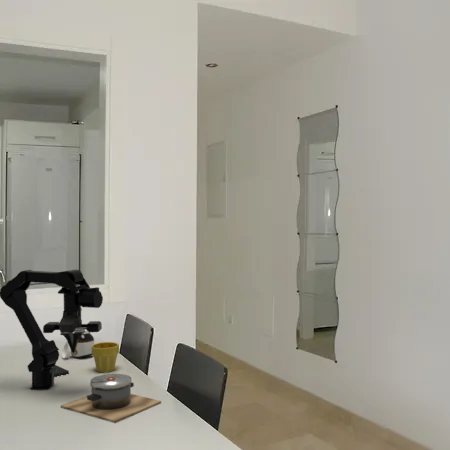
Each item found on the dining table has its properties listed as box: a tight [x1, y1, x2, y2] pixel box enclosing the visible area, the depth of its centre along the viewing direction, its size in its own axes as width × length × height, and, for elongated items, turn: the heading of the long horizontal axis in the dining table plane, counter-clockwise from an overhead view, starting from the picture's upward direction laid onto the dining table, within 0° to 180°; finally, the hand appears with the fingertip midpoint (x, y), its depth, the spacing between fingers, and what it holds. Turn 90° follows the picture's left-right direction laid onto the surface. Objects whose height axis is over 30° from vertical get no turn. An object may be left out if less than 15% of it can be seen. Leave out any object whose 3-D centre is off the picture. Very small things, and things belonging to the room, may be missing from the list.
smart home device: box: [51, 364, 70, 378], centre depth 213 cm, size 8×2×20 cm
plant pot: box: [92, 341, 120, 373], centre depth 213 cm, size 10×10×10 cm
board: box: [60, 393, 162, 424], centre depth 173 cm, size 24×20×1 cm
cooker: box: [86, 381, 135, 410], centre depth 173 cm, size 12×17×6 cm
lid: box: [89, 373, 132, 390], centre depth 173 cm, size 13×13×2 cm
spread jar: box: [61, 330, 95, 360], centre depth 232 cm, size 12×11×12 cm
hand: (73, 352), depth 188 cm, fingers closed
